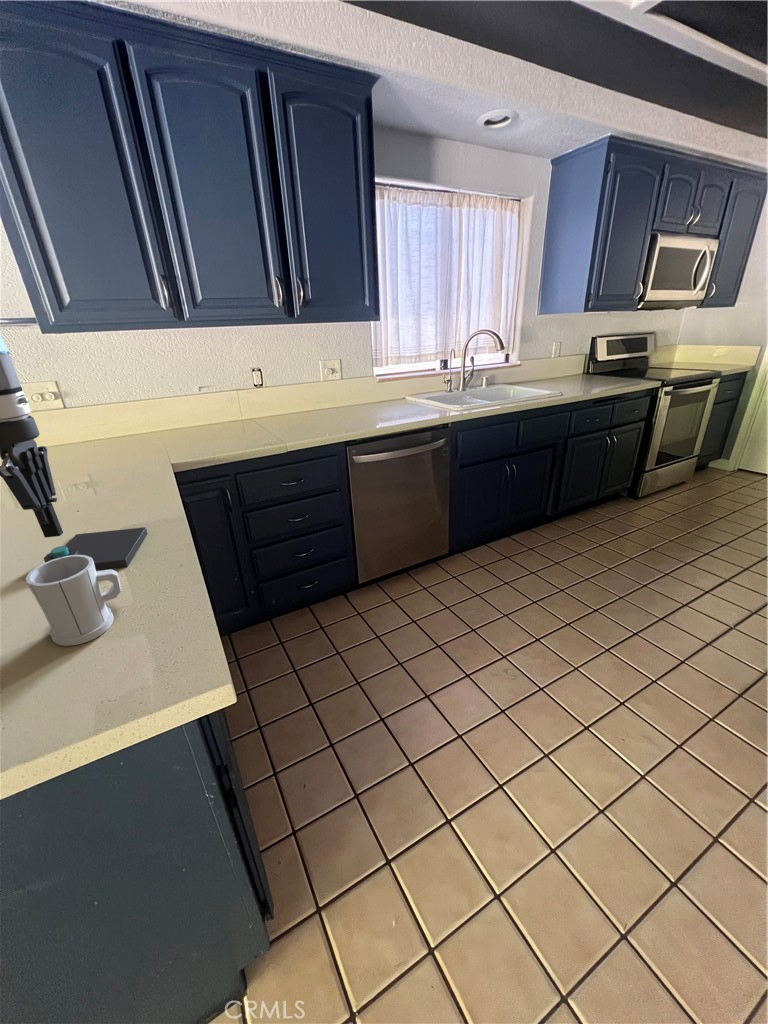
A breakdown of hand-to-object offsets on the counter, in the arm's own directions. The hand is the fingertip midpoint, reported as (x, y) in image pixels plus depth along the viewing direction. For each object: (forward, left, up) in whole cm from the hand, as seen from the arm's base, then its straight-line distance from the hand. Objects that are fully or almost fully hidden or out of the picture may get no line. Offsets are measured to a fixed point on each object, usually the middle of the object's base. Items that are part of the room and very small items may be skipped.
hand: (54, 534), depth 86 cm
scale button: (0, 0, -5) cm, 5 cm away
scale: (+5, +5, -8) cm, 11 cm away
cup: (+12, -21, -8) cm, 26 cm away
